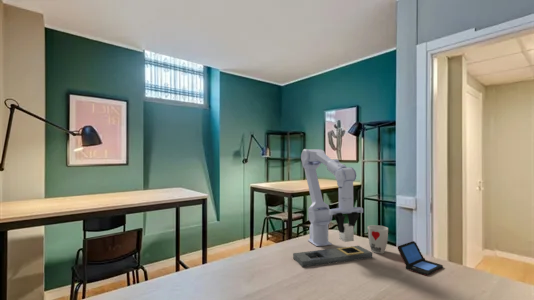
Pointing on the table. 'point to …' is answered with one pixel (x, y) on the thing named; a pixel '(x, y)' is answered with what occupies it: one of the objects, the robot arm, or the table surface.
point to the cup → (377, 238)
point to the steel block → (347, 233)
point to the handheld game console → (417, 259)
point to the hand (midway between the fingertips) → (346, 231)
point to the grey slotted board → (331, 256)
